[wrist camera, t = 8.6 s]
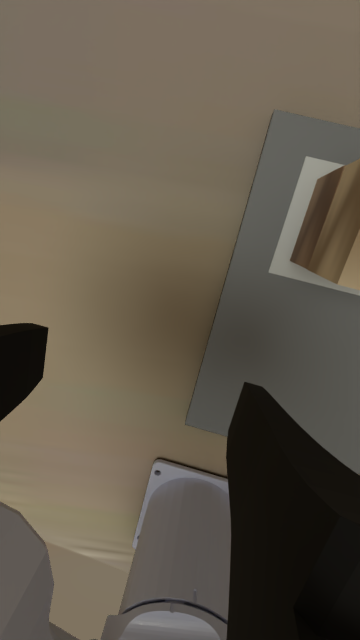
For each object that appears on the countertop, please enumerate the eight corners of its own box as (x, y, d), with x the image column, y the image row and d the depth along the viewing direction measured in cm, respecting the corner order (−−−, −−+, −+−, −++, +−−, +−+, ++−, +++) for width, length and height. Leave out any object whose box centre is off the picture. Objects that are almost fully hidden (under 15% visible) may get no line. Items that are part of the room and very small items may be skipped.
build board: (389, 475, 22) (396, 485, 22) (186, 418, 23) (184, 425, 22) (553, 178, 16) (571, 175, 16) (272, 114, 17) (274, 108, 16)
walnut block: (366, 279, 18) (404, 293, 14) (289, 260, 18) (307, 269, 15) (400, 198, 17) (453, 190, 13) (317, 179, 17) (344, 165, 13)
